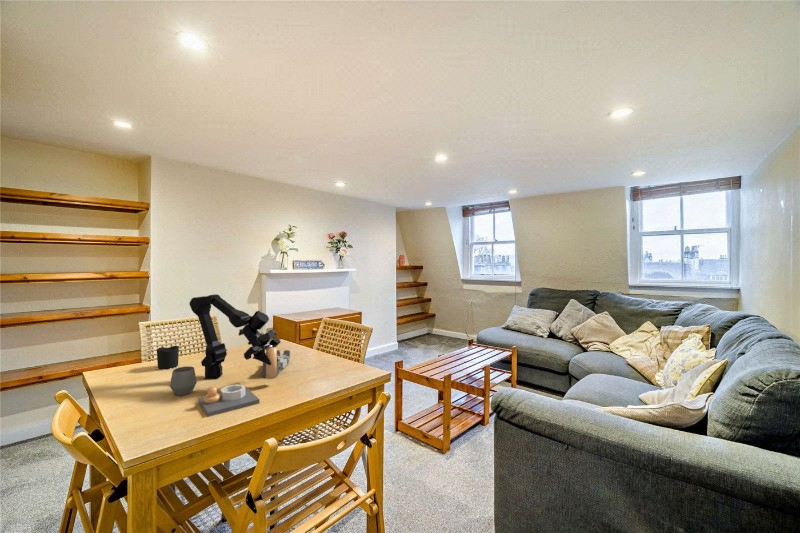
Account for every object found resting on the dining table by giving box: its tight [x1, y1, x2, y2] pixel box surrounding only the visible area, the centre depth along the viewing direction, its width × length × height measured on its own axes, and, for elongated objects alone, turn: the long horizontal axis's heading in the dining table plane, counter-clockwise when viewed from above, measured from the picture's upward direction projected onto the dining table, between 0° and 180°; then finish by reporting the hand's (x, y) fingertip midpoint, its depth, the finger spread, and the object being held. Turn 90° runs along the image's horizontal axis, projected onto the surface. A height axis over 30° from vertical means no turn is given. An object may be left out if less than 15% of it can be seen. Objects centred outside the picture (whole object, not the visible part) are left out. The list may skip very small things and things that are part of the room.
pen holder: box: [156, 345, 180, 370], centre depth 176 cm, size 9×9×10 cm
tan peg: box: [265, 346, 278, 380], centre depth 153 cm, size 4×4×13 cm
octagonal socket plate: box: [198, 384, 260, 417], centre depth 134 cm, size 16×18×6 cm
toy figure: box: [261, 349, 291, 378], centre depth 179 cm, size 11×7×30 cm
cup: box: [169, 365, 197, 396], centre depth 143 cm, size 10×9×10 cm
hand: (274, 362), depth 152 cm, fingers closed on tan peg, 4 cm apart
